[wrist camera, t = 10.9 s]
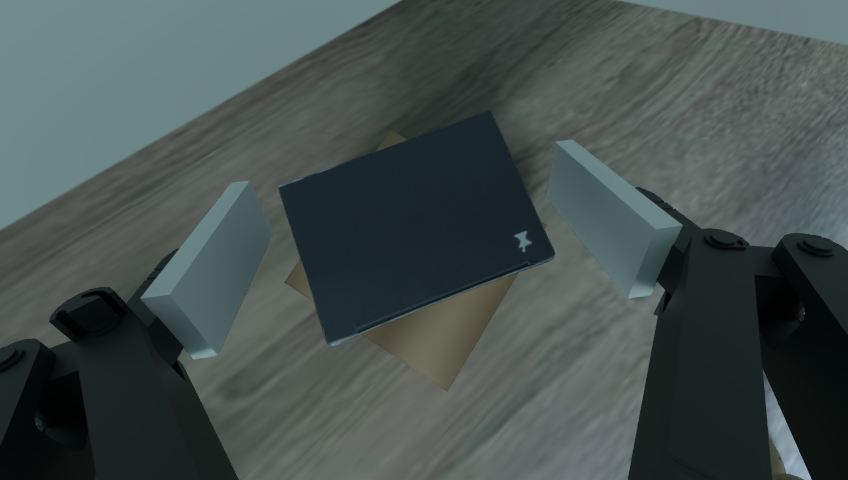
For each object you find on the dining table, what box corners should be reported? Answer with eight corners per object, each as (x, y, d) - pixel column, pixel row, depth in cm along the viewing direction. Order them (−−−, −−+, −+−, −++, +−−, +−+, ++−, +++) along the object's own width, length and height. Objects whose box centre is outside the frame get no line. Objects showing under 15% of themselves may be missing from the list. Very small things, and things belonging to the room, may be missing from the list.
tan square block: (314, 283, 27) (284, 282, 21) (397, 162, 28) (390, 129, 22) (441, 367, 26) (447, 391, 20) (519, 238, 27) (546, 225, 21)
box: (459, 192, 22) (495, 103, 11) (492, 274, 21) (564, 262, 10) (344, 234, 21) (270, 182, 11) (374, 319, 20) (324, 353, 10)
